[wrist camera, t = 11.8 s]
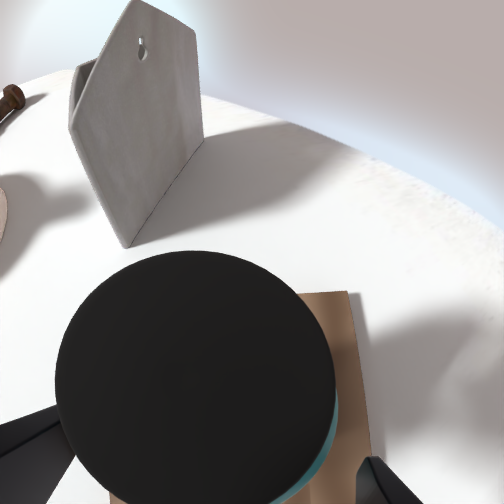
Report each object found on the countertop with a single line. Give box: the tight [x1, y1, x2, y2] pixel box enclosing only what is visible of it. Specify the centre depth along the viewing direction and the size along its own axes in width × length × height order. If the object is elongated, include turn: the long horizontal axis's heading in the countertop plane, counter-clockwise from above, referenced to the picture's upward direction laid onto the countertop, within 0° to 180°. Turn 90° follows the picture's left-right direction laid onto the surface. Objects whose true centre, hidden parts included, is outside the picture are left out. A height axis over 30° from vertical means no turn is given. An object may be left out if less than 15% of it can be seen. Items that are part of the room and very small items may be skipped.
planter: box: [68, 0, 204, 249], centre depth 24 cm, size 16×8×19 cm, turn 160°
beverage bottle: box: [55, 251, 338, 504], centre depth 12 cm, size 6×7×20 cm
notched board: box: [109, 291, 371, 504], centre depth 20 cm, size 18×18×2 cm
